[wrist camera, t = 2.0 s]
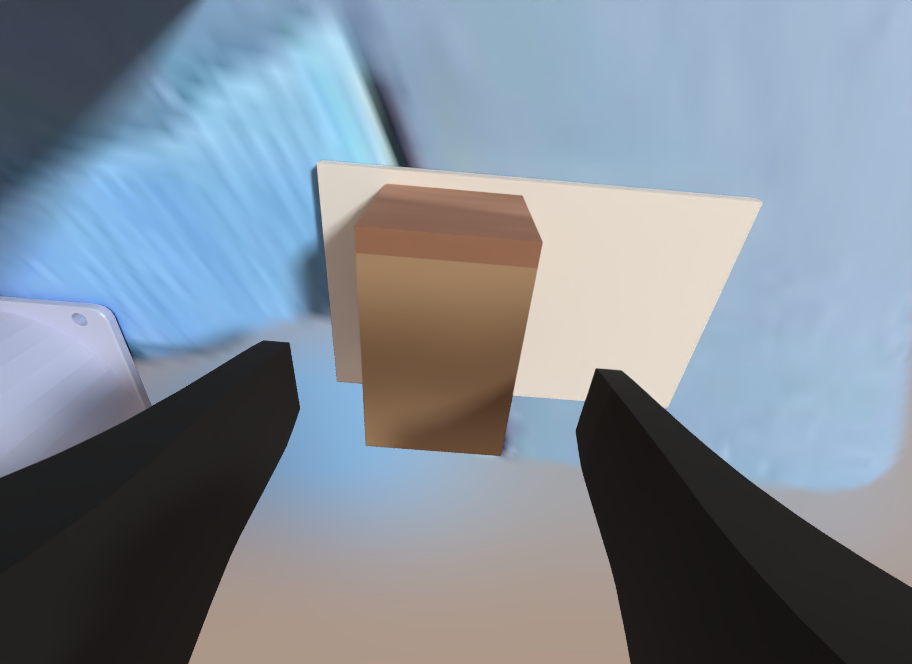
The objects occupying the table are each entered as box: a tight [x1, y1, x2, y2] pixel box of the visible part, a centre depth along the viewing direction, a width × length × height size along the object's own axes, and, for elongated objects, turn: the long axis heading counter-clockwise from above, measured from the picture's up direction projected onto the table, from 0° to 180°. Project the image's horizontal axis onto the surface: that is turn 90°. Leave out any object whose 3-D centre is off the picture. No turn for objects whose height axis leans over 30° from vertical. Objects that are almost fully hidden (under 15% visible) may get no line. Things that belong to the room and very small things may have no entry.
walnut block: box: [354, 184, 543, 456], centre depth 12 cm, size 7×4×4 cm, turn 176°
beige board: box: [317, 160, 763, 407], centre depth 14 cm, size 13×8×1 cm, turn 86°
